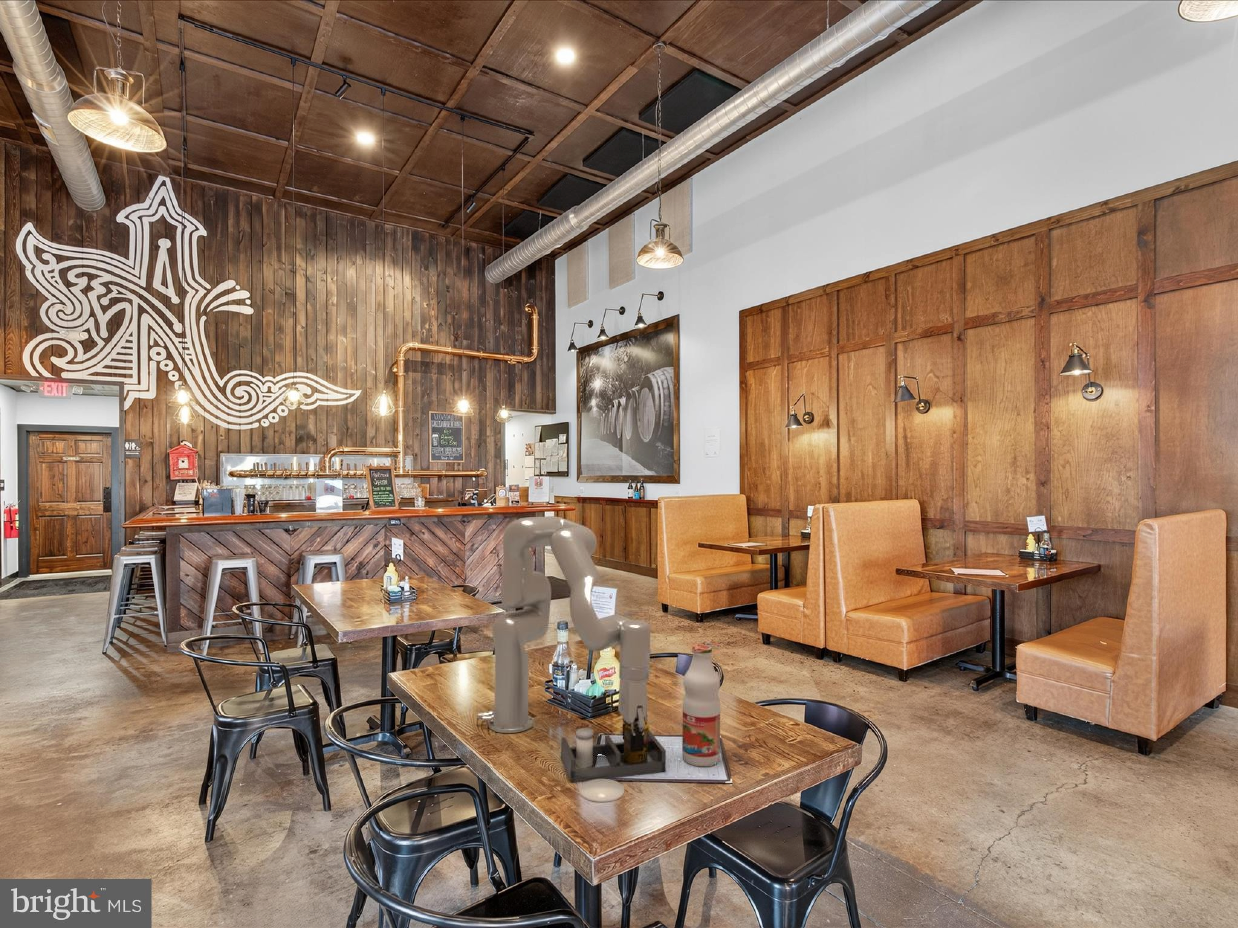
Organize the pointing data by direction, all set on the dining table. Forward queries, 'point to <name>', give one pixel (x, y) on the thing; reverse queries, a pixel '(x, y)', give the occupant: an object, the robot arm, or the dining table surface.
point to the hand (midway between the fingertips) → (632, 744)
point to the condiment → (628, 755)
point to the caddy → (613, 761)
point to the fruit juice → (701, 710)
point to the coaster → (601, 790)
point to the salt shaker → (584, 748)
